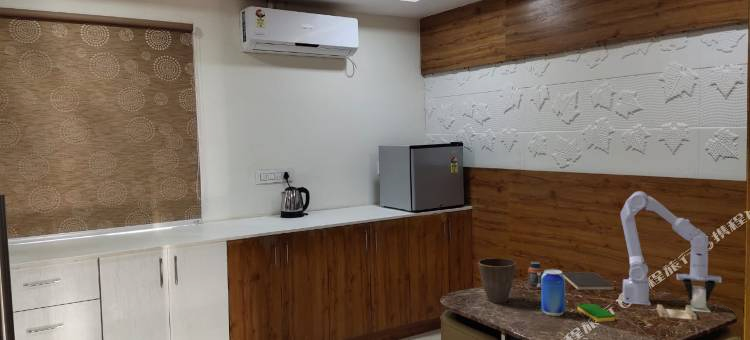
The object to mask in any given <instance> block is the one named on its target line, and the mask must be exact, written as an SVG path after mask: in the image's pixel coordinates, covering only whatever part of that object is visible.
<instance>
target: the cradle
mask: <svg viewBox="0 0 750 340" xmlns="http://www.w3.org/2000/svg"><path fill="white" fill-rule="evenodd" d="M655 310H656V311H657V313H658V315H659V317H660V318H670V319H671V318H672V319H684V320H694V321H695V320H697V321H698V320H699V319H698V317H697V314H696V313H695V311H693V310H692V309H691V307H687V306H685V310H683V309H670V308H664V306H663V304H659V303H658V304H657V307H656V308H655Z"/></svg>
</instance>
